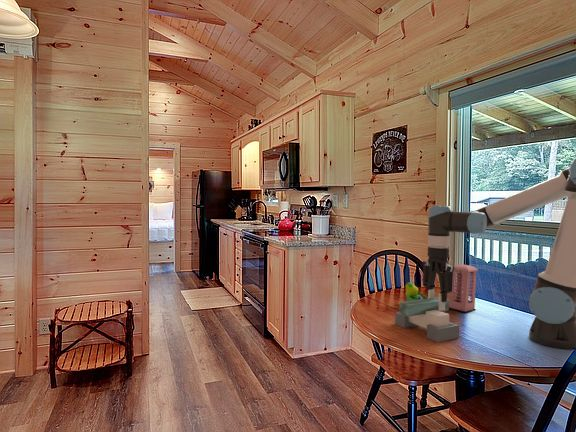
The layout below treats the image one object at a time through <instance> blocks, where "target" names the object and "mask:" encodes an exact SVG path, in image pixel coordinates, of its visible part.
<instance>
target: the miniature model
mask: <svg viewBox="0 0 576 432" xmlns="http://www.w3.org/2000/svg"><path fill="white" fill-rule="evenodd" d="M453 266H454V271H453V282H452V292H449V297H448V300H449V310H453V311H456V312H457V311H458V312H462V313H466V314H467V313H470V312H473V311H476V310H477V309H476V306H475V305H476V304H475V303H476V287H477V273H478V271H479V270H478V268H477V267H475V266H472V265H468V264H457V265H453Z"/></svg>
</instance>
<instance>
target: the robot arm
mask: <svg viewBox="0 0 576 432" xmlns="http://www.w3.org/2000/svg"><path fill="white" fill-rule="evenodd" d="M564 198H567V200H566V203H565V207H564V210H563V214H562V216H561V220H560V223H559V227H558V230H557V233H556V236H555V238H554V242H553V244H552V245H553V246H552V249H551V252H550V254H549V255H550V256H549V257H548V258H549V259H548V261H547V265H546V267H545V270H544V271H542V272H539V273H538V274H537V276H536V281H535V284H534V288H533V290H532V292H531V294H530V296H529V298H528V303H529V309H530V311H531V312H532V314H533V315H534V319H533V321H532V323H531V325H530V328H529V331H528V337H529V339H530V340H531V341H532V342H533V341H534V342H535V343H538V344H539V345H543V346H547V347H551V348H556V349H564V350H575V348H576V157H575V158H574V159H573V161H571V163H570V165H569V167H568V168H565V169H562V170H561V171H560V172H559V174H558V175H557V176H554V177H551V178H549V179H546V180H545V181H543V182H540V183H538V184H534V185H533V186H530V187H529V188H526V189H523V190H521V191H519V192H516V193H514V194H512V195H509V196H507V197H504V198H502V199H500V200H497V201H495V202H493V203H491V204H489V205H486V206H483V207H480V208H478V209H476V210H474V211H473V210H472V211H453V210H452V208H451V206H449V205H431V206H429V211H428V218H427V219H428V226H427V227H428V233H427V235H428V236H427V246H428V247H427V257H428V259H427V260H423V261H422V262H421V264H422V267H423V269H422V270H423V271H422V286H423V287H424V288H426V297H427V298H428V299H429V298H436V288H435V286H434V285H435V283H436V282H435V281H436V278H437V277H438V281H439V290H440V291H439V292H438V297H439V306H438V310H439V311H441V310H445V302H446V301H447V299H448V293H449V294H450V292H452V282H453V271H454V266H455V265H451V264H449V261H448V259H449V257H450V248H449V247H450V236H451V235H450V232H451V233H463V234H464V233H465V234H474V235H475V234H481V235H482V234H484V233H485V232H486V229H487V228H490V227H492V226H494V225H497V224H500V223H501V222H504V221H508V220H510V219H513V218H515V217H517V216H521V215H523V214H525V213H528V212H531V211H532V210H536V209H538V208H541V207H543V206H546V205H549V204H551V203H554V202H556V201H559V200H561V199H564ZM441 312H442V311H441ZM573 348H574V349H573Z"/></svg>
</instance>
